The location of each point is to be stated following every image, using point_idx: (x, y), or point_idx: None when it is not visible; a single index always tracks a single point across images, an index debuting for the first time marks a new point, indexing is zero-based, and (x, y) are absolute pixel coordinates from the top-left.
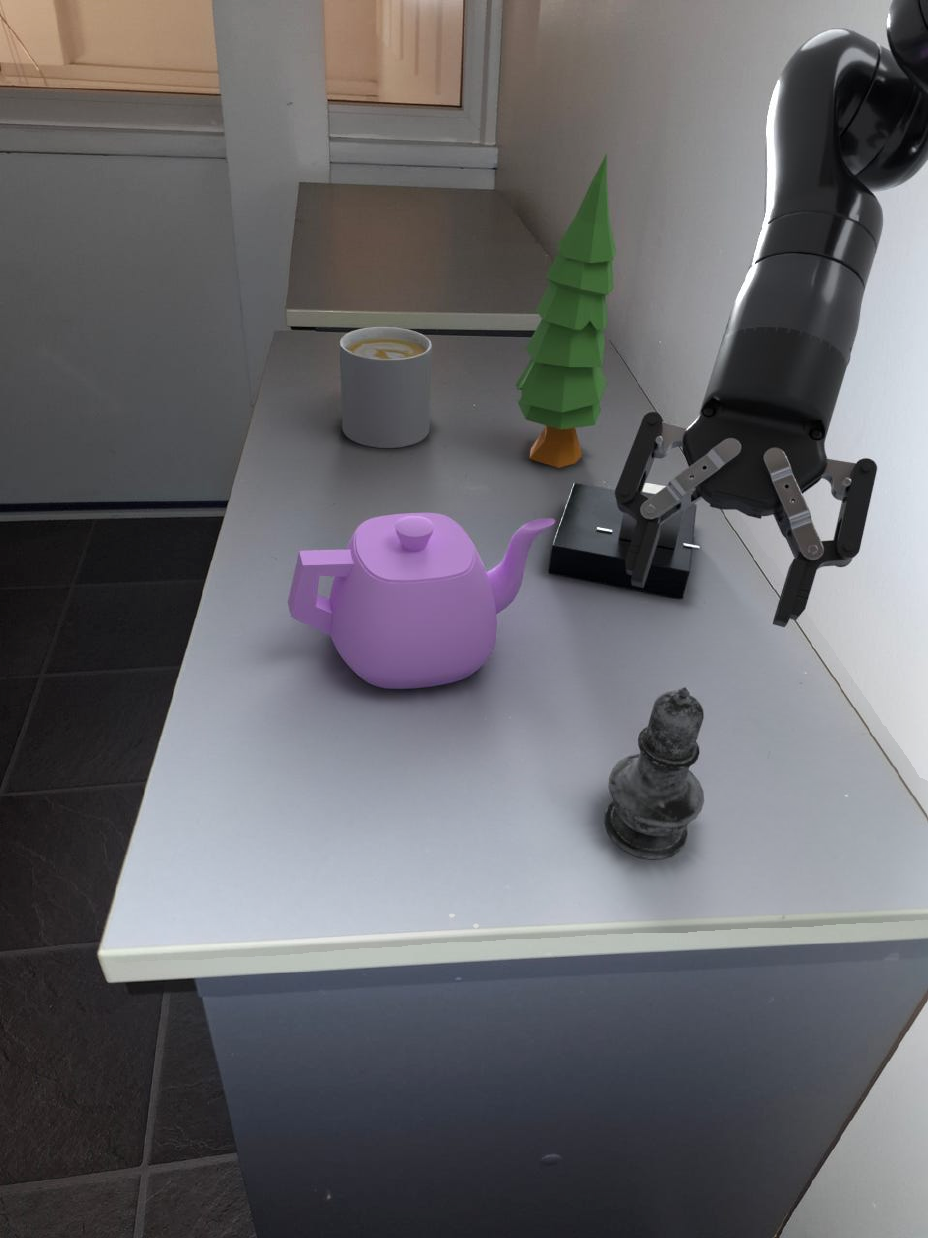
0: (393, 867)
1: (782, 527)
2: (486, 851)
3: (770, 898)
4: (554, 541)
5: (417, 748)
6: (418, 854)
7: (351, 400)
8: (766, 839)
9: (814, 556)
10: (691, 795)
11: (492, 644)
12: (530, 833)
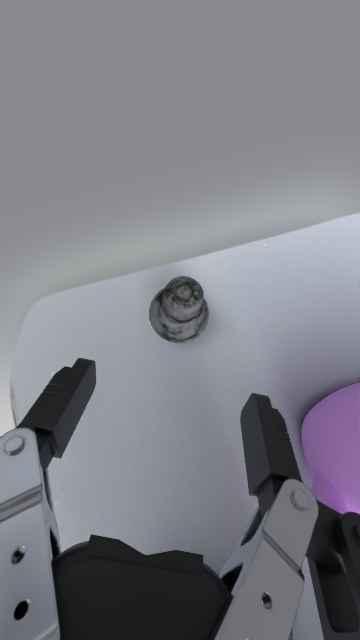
0: (299, 263)
1: (56, 531)
2: (258, 282)
3: (111, 287)
4: (291, 632)
5: (314, 344)
6: (290, 273)
7: None
8: (108, 325)
9: (16, 432)
10: (157, 308)
11: (307, 435)
12: (238, 299)
